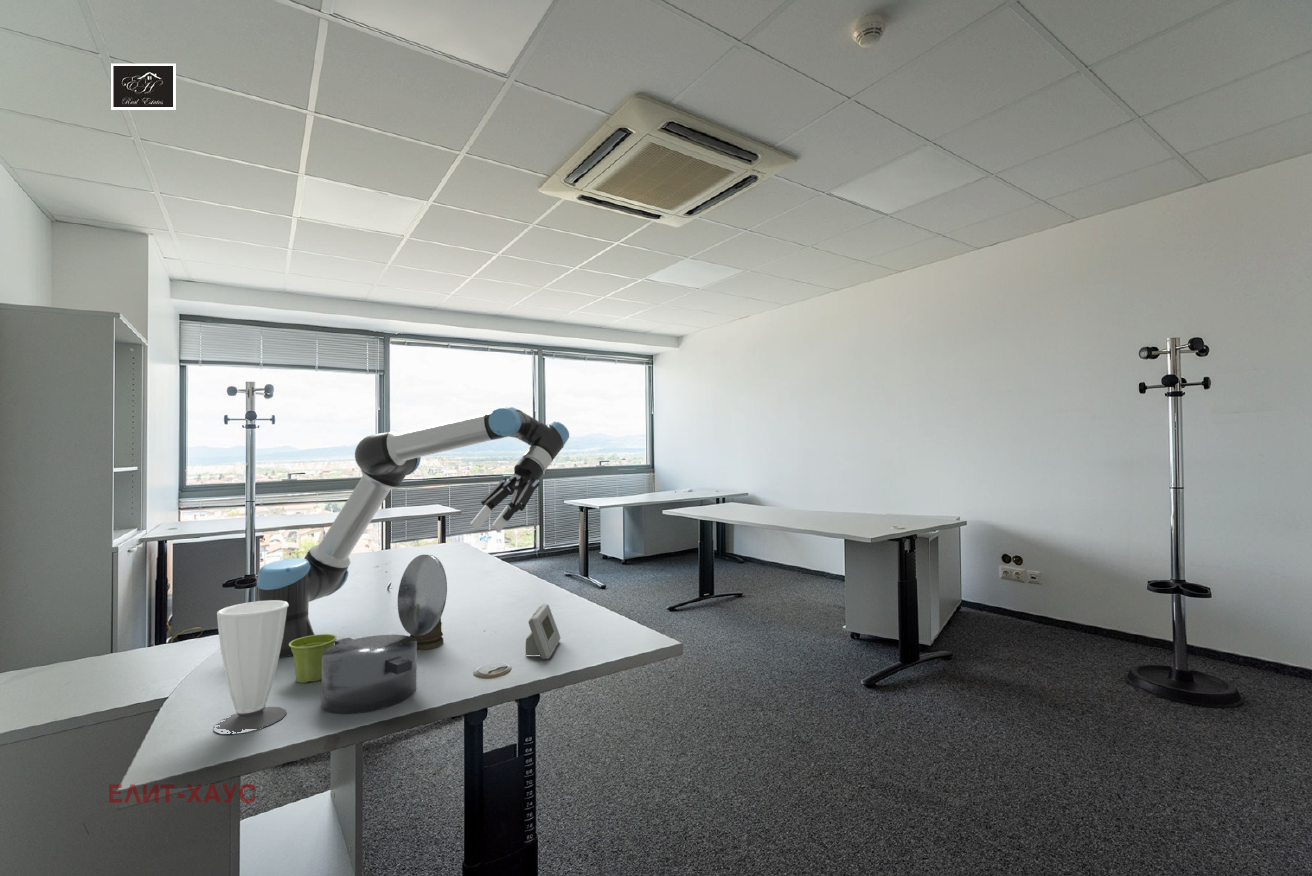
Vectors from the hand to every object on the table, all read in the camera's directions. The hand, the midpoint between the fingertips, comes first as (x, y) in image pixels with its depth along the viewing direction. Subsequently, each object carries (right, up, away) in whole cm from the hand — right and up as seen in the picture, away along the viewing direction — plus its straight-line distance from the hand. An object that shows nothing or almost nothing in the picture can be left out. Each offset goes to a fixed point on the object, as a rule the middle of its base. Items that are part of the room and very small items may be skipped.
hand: (484, 527), depth 142 cm
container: (-19, -34, +9) cm, 39 cm away
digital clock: (+15, -33, +3) cm, 36 cm away
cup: (-34, -32, -36) cm, 59 cm away
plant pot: (-35, -33, -15) cm, 50 cm away
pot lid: (-10, -13, -15) cm, 22 cm away
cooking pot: (-17, -32, -25) cm, 44 cm away
